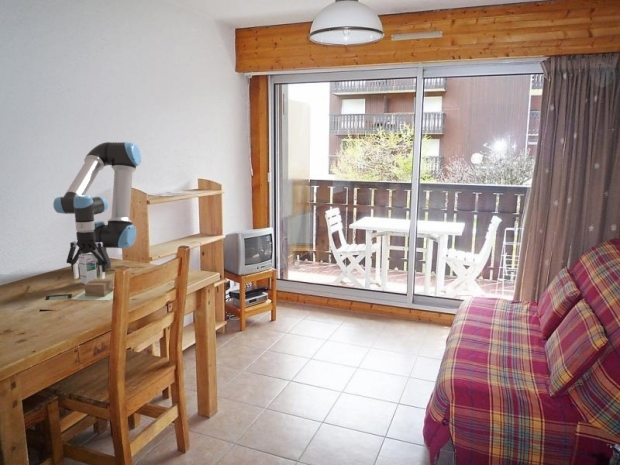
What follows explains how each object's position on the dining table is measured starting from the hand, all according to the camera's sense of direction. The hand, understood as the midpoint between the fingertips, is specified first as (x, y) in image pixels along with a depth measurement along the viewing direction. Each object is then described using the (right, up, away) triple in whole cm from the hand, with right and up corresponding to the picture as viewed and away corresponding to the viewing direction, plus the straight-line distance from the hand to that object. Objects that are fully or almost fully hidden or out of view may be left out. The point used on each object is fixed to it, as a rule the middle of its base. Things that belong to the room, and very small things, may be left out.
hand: (89, 278), depth 215 cm
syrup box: (0, -3, +1) cm, 3 cm away
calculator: (-2, -9, -25) cm, 27 cm away
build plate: (+11, -6, -15) cm, 19 cm away
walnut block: (+11, -5, -15) cm, 19 cm away
